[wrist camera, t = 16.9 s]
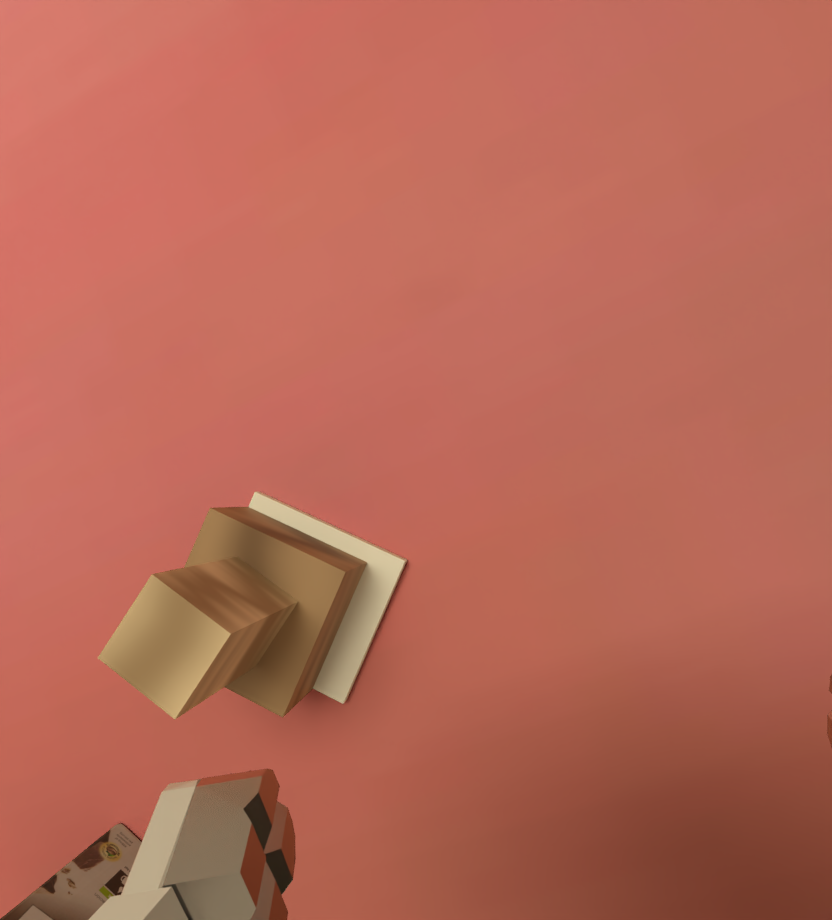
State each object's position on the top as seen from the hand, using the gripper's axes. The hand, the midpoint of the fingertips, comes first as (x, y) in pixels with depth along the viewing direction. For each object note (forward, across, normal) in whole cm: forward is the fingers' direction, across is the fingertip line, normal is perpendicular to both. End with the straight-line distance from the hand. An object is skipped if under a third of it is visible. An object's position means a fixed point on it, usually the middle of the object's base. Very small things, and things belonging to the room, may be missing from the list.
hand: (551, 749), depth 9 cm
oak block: (+21, +12, +10) cm, 26 cm away
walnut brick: (+25, +12, +12) cm, 30 cm away
